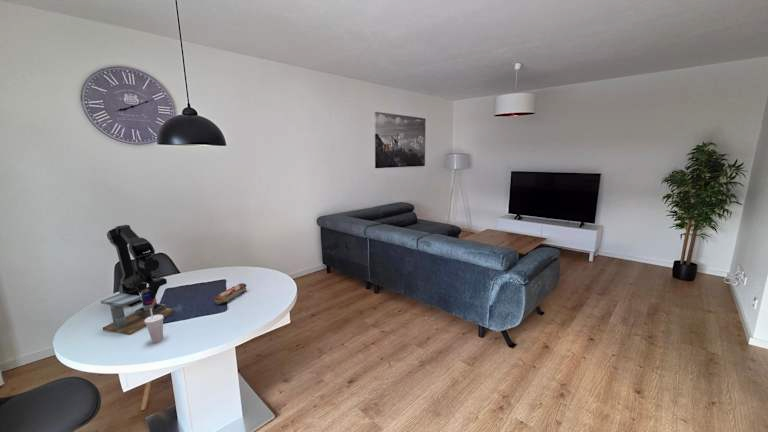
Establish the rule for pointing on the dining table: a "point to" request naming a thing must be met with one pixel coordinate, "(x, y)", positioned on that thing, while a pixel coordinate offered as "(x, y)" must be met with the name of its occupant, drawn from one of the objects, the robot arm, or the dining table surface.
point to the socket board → (133, 320)
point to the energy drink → (148, 300)
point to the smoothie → (155, 326)
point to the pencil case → (230, 293)
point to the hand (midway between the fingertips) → (148, 298)
